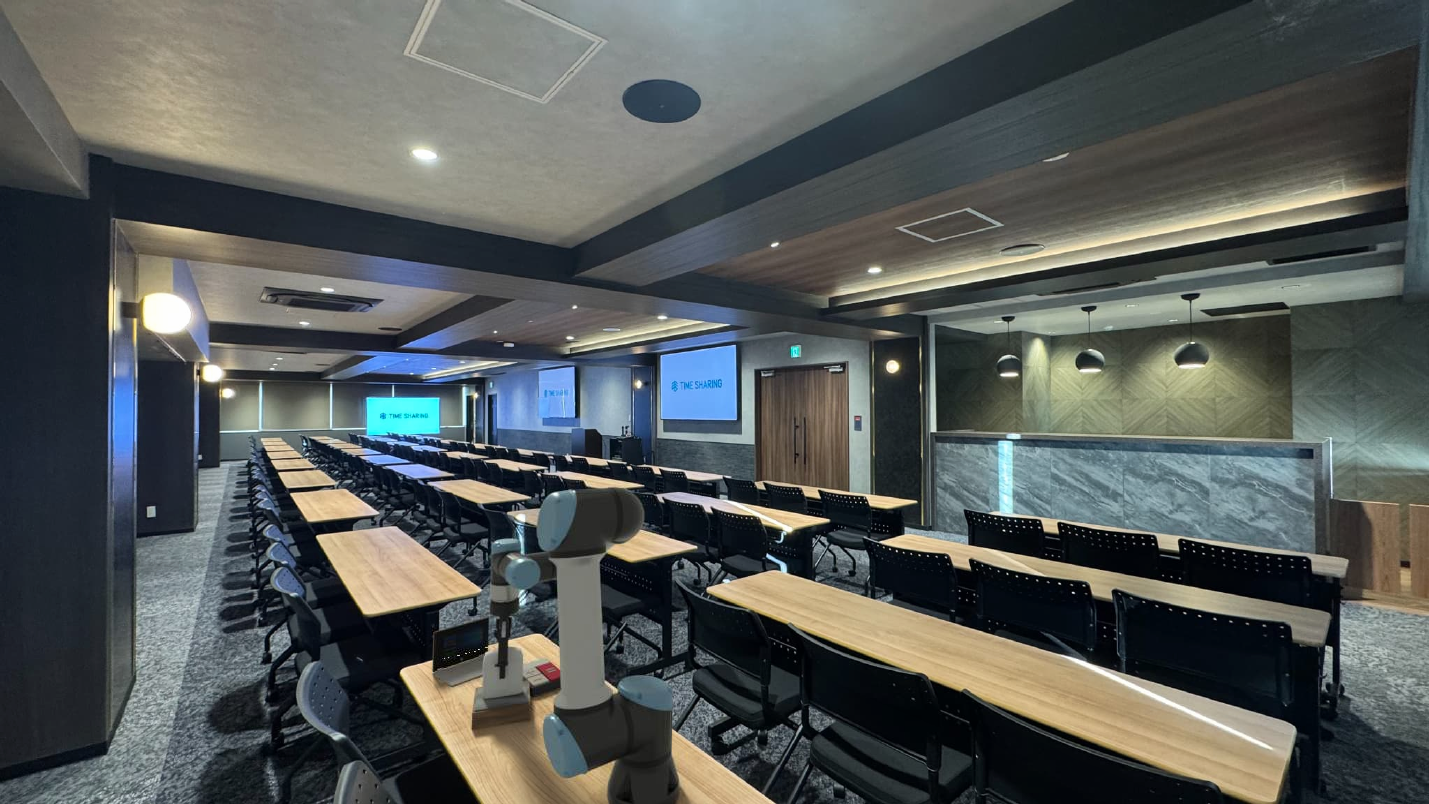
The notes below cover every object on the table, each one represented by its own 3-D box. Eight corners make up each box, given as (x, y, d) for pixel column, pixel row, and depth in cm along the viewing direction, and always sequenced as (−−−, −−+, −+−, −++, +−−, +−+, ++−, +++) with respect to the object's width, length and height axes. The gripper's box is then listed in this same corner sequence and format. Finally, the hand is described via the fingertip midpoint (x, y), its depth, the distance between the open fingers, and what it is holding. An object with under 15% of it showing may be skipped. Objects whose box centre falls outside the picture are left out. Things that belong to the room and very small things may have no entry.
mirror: (529, 720, 146) (530, 703, 146) (471, 729, 142) (472, 712, 142) (528, 694, 159) (529, 679, 160) (475, 702, 155) (475, 686, 155)
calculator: (532, 685, 158) (511, 665, 169) (531, 701, 158) (511, 679, 169) (568, 674, 165) (546, 655, 176) (567, 689, 165) (545, 668, 176)
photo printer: (481, 701, 147) (482, 653, 147) (482, 693, 151) (483, 647, 151) (522, 695, 151) (524, 648, 151) (522, 687, 155) (523, 642, 155)
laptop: (451, 688, 163) (452, 643, 163) (431, 675, 171) (433, 632, 171) (508, 667, 177) (509, 625, 177) (487, 656, 185) (488, 616, 185)
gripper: (519, 607, 144) (516, 698, 144) (519, 586, 161) (516, 668, 160) (488, 610, 142) (485, 703, 141) (491, 588, 158) (488, 672, 158)
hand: (501, 684), depth 151 cm, fingers closed on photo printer, 4 cm apart
